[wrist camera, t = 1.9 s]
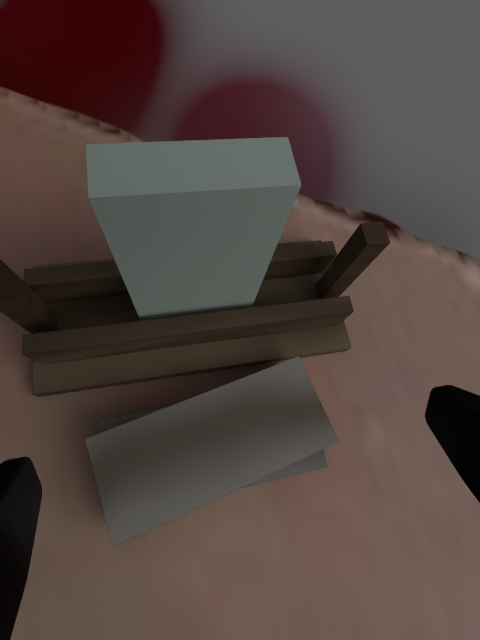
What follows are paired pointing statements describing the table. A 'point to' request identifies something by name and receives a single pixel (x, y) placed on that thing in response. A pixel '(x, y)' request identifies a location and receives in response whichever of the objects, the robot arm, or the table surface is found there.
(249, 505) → the table surface
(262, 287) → the walnut rack
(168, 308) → the sage panel
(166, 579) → the table surface
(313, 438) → the upper offcut
